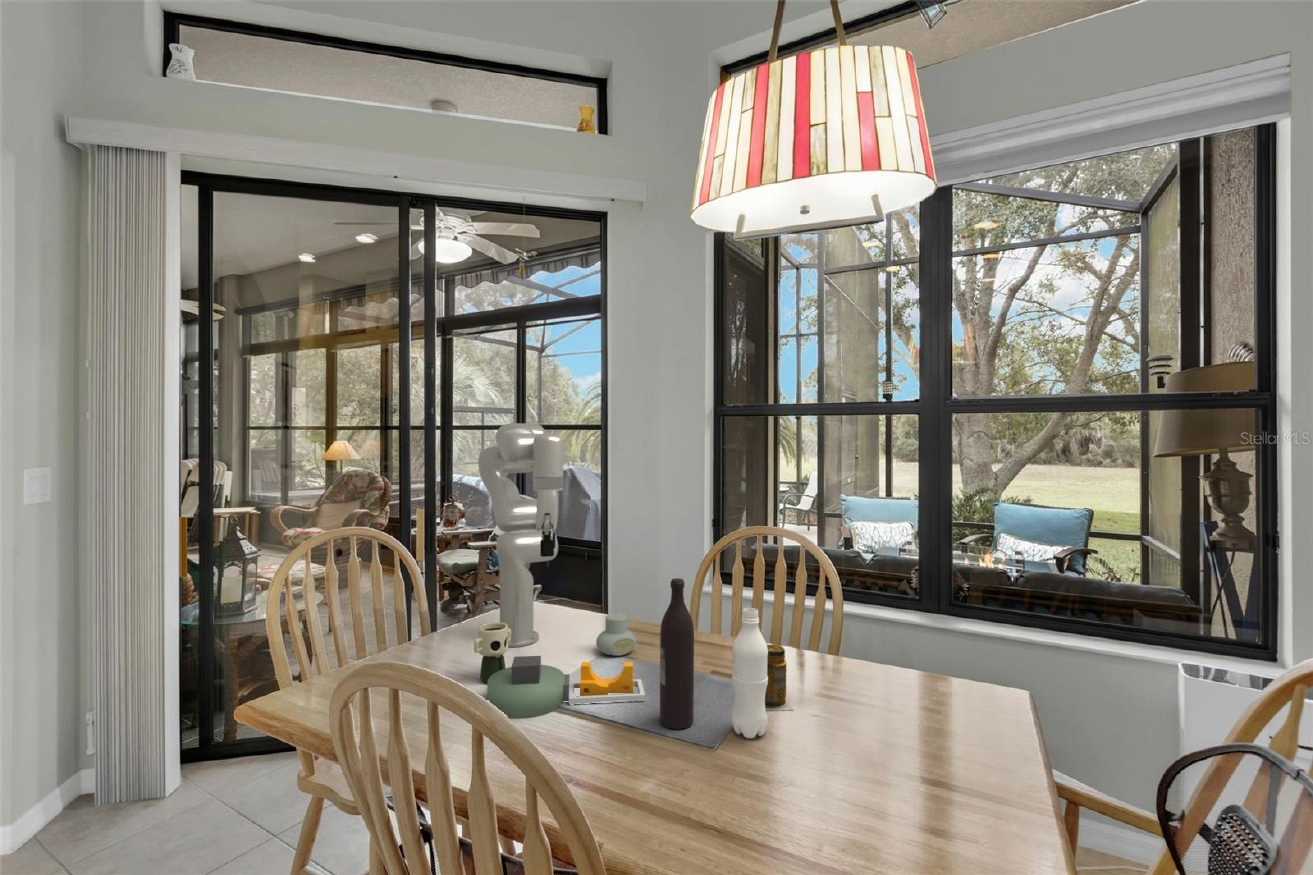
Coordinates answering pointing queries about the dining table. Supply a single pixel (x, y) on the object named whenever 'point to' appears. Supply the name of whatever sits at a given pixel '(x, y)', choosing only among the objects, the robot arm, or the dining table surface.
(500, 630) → the character mug
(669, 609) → the wine bottle
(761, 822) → the dining table surface
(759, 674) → the water bottle
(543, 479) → the robot arm
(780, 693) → the condiment
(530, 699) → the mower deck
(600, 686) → the pipe clamp
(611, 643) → the air freshener
